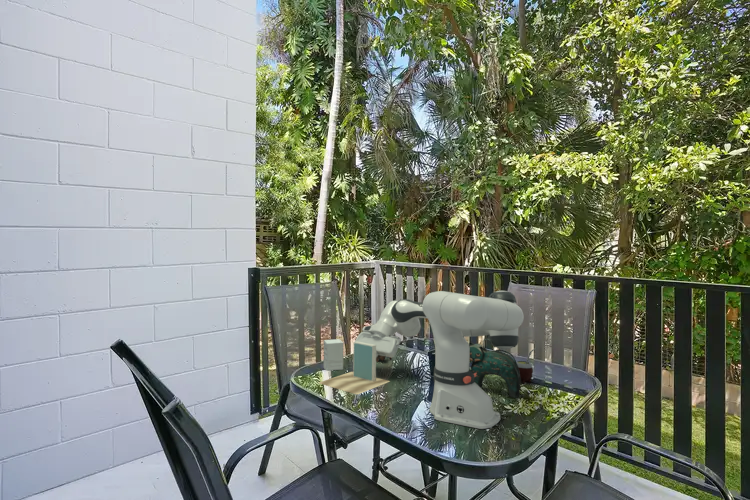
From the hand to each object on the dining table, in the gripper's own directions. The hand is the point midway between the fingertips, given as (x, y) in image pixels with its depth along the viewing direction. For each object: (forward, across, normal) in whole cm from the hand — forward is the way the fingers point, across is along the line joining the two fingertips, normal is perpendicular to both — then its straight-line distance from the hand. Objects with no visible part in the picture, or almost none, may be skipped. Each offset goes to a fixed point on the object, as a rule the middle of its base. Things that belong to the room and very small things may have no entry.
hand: (367, 361), depth 172 cm
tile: (+6, 0, -3) cm, 7 cm away
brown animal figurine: (-14, +14, -25) cm, 32 cm away
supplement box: (+5, +20, -6) cm, 21 cm away
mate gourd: (-22, -50, -33) cm, 64 cm away
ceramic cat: (-9, -45, -19) cm, 50 cm away
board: (+11, 0, +1) cm, 11 cm away
